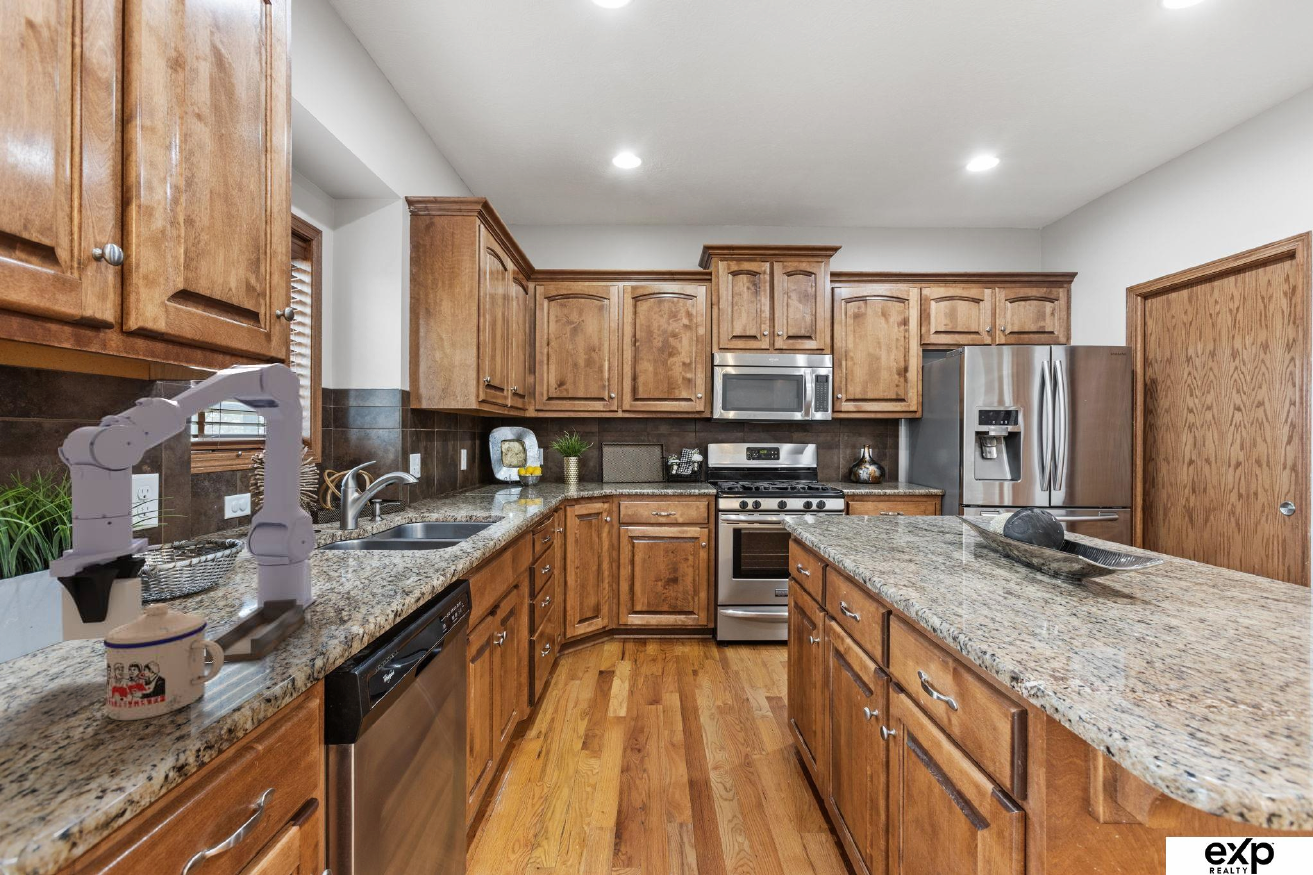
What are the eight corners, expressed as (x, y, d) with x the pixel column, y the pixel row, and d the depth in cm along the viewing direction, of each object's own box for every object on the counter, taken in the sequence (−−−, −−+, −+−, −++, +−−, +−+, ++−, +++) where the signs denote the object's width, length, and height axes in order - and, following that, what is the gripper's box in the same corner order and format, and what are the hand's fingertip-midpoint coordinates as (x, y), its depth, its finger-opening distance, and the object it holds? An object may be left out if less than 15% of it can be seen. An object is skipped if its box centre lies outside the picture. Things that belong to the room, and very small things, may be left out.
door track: (257, 625, 93) (257, 601, 93) (304, 621, 94) (304, 598, 94) (203, 663, 77) (203, 635, 77) (260, 659, 79) (260, 631, 79)
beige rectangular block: (80, 632, 75) (79, 580, 75) (141, 628, 77) (141, 577, 77) (62, 640, 72) (61, 587, 72) (126, 636, 74) (125, 583, 74)
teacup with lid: (79, 723, 61) (79, 618, 61) (152, 686, 71) (151, 594, 70) (191, 722, 62) (190, 617, 62) (249, 685, 71) (248, 593, 71)
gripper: (107, 509, 81) (108, 603, 81) (17, 526, 67) (19, 639, 67) (164, 508, 82) (165, 599, 82) (88, 524, 68) (90, 634, 68)
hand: (104, 617), depth 75 cm, fingers closed on beige rectangular block, 3 cm apart
